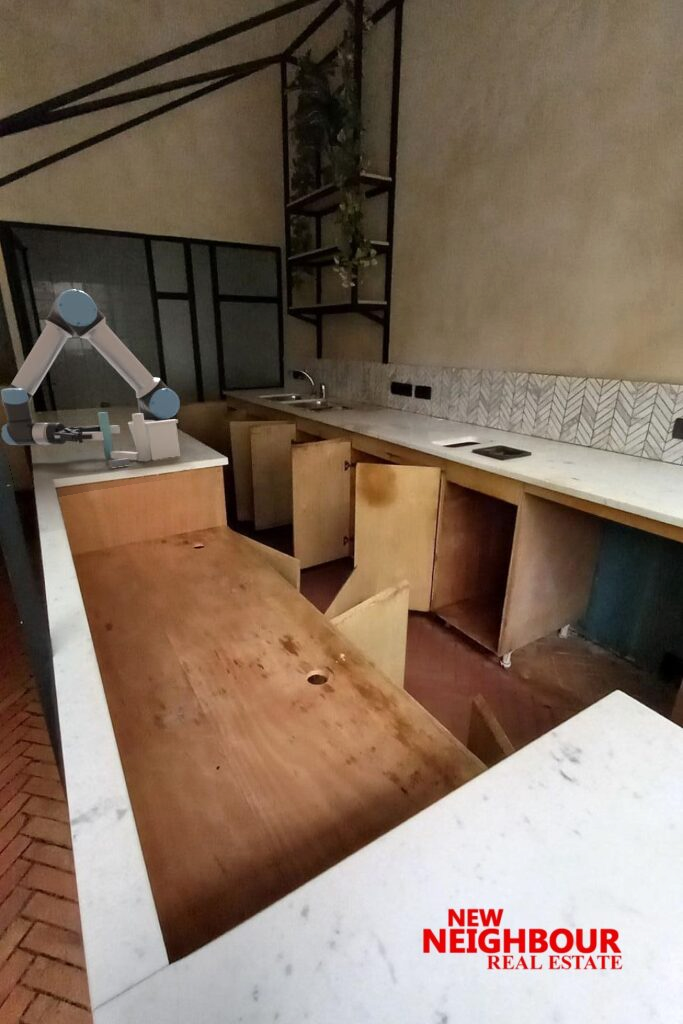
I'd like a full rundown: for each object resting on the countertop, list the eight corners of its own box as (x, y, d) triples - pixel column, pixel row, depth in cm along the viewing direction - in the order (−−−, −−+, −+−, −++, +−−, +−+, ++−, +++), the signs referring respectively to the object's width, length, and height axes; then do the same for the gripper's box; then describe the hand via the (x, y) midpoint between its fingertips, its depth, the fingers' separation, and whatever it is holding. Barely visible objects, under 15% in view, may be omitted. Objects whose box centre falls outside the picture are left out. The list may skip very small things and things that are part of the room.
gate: (152, 459, 173) (145, 413, 168) (145, 461, 170) (138, 414, 165) (110, 456, 179) (102, 411, 174) (102, 458, 176) (94, 413, 171)
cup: (133, 454, 183) (128, 424, 180) (130, 450, 192) (126, 421, 188) (161, 451, 188) (157, 422, 184) (157, 447, 196) (153, 419, 192)
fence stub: (179, 454, 181) (174, 419, 177) (182, 456, 179) (177, 419, 175) (148, 459, 175) (143, 422, 170) (151, 461, 172) (146, 423, 168)
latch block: (128, 464, 168) (127, 457, 167) (130, 465, 166) (129, 458, 165) (109, 467, 164) (108, 460, 163) (111, 468, 162) (110, 461, 162)
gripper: (71, 437, 187) (127, 436, 187) (32, 451, 163) (96, 450, 163) (67, 417, 185) (124, 416, 185) (27, 428, 161) (92, 427, 161)
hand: (111, 432), depth 174 cm, fingers open, 13 cm apart
